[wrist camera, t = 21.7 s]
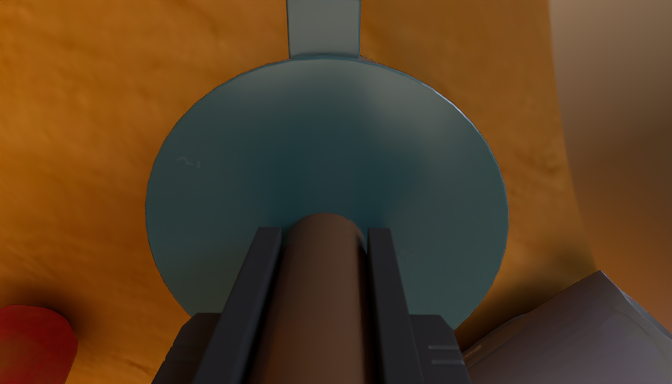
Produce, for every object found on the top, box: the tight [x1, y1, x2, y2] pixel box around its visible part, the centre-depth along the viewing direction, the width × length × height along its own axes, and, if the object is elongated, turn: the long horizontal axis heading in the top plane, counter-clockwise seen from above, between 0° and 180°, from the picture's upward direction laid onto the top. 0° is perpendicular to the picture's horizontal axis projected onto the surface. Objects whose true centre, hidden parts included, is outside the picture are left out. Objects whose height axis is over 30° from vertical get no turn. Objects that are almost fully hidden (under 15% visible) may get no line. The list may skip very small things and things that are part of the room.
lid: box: [145, 56, 509, 384], centre depth 11 cm, size 13×13×9 cm
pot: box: [286, 0, 377, 63], centre depth 19 cm, size 12×18×10 cm
